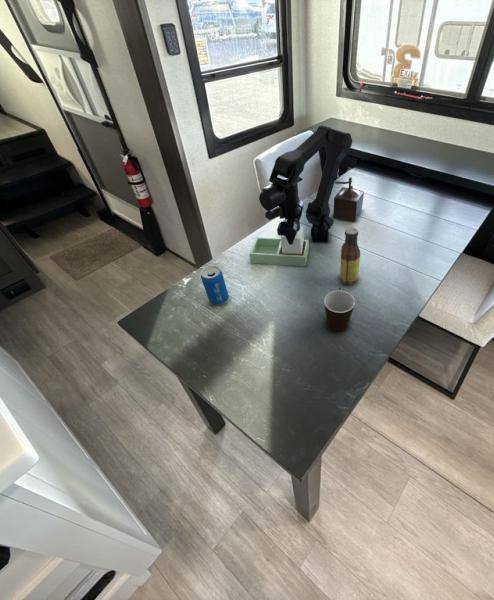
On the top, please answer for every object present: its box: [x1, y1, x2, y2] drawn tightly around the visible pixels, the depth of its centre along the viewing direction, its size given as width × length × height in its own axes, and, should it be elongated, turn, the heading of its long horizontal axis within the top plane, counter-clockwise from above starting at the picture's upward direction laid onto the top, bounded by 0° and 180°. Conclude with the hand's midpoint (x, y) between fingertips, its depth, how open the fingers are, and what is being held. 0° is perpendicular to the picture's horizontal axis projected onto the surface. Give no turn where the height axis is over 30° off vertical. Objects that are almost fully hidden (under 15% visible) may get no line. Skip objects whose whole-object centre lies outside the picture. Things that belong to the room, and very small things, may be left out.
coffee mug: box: [323, 286, 356, 333], centre depth 92 cm, size 12×9×10 cm
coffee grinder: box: [332, 168, 365, 222], centre depth 132 cm, size 16×11×18 cm
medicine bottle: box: [280, 218, 304, 254], centre depth 111 cm, size 7×7×12 cm
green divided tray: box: [249, 236, 310, 267], centre depth 117 cm, size 11×20×4 cm, turn 83°
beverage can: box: [200, 265, 230, 306], centre depth 99 cm, size 6×6×12 cm
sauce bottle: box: [339, 226, 361, 285], centre depth 101 cm, size 6×6×20 cm
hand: (292, 237), depth 112 cm, fingers closed on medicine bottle, 7 cm apart
